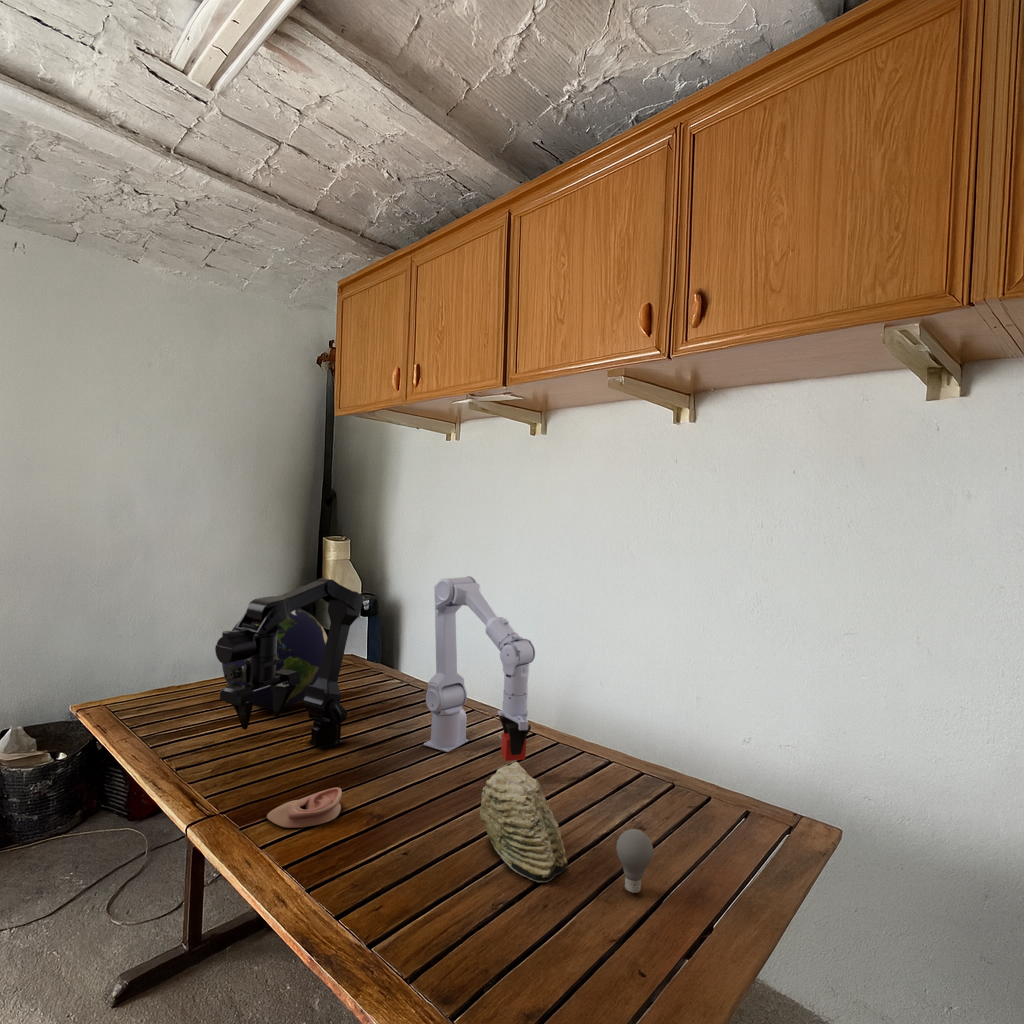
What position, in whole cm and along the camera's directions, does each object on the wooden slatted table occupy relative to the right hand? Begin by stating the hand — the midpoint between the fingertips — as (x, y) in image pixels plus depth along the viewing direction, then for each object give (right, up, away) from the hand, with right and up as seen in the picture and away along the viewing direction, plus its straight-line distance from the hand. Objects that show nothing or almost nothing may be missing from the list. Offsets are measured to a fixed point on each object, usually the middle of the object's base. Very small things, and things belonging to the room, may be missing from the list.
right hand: (513, 750), depth 148 cm
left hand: (-58, +7, -3) cm, 58 cm away
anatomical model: (-42, -5, -22) cm, 47 cm away
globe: (-71, -2, +40) cm, 81 cm away
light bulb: (+20, -8, -42) cm, 47 cm away
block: (0, -2, 0) cm, 2 cm away
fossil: (+1, -7, -33) cm, 34 cm away
